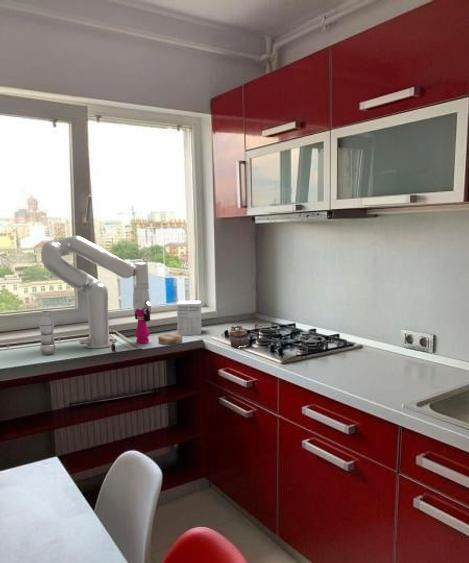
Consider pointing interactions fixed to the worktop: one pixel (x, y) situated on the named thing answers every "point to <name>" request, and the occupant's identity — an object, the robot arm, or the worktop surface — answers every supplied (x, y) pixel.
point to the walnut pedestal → (170, 339)
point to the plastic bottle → (47, 334)
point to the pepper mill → (141, 328)
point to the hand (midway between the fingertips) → (142, 320)
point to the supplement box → (189, 317)
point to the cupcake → (238, 336)
